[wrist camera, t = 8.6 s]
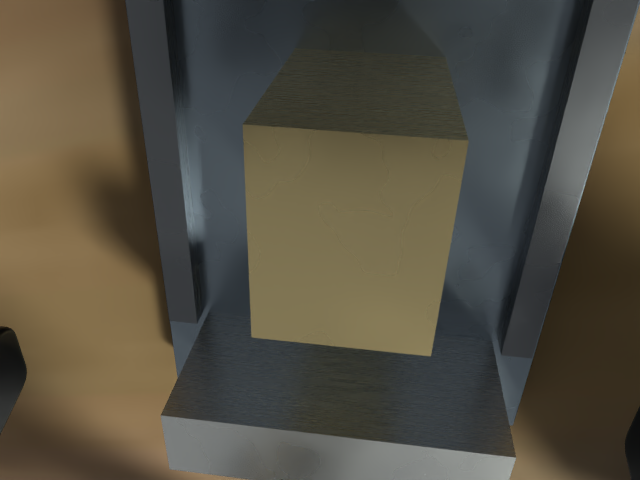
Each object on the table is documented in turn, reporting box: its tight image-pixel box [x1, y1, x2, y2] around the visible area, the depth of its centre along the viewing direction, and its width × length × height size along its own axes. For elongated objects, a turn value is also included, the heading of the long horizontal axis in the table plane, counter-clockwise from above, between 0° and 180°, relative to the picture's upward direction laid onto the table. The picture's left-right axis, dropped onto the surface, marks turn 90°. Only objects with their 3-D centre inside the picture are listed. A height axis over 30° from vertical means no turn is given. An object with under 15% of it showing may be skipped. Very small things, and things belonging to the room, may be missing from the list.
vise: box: [125, 0, 640, 480], centre depth 15 cm, size 22×13×6 cm, turn 178°
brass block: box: [243, 48, 469, 356], centre depth 14 cm, size 5×4×6 cm
